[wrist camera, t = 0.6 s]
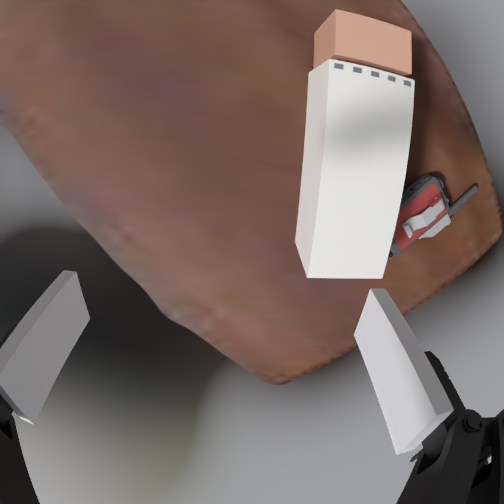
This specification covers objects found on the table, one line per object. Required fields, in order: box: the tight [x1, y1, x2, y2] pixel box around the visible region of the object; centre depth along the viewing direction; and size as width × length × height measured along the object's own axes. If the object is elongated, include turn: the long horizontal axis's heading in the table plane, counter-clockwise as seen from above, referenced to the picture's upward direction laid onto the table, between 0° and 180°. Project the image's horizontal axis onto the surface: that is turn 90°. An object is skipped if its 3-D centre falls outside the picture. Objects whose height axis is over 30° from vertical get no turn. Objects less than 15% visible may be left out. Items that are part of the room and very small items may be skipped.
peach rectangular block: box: [313, 9, 412, 76], centre depth 22 cm, size 5×8×9 cm, turn 88°
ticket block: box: [295, 59, 415, 278], centre depth 29 cm, size 22×9×9 cm, turn 178°
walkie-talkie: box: [388, 174, 478, 258], centre depth 34 cm, size 9×4×20 cm
